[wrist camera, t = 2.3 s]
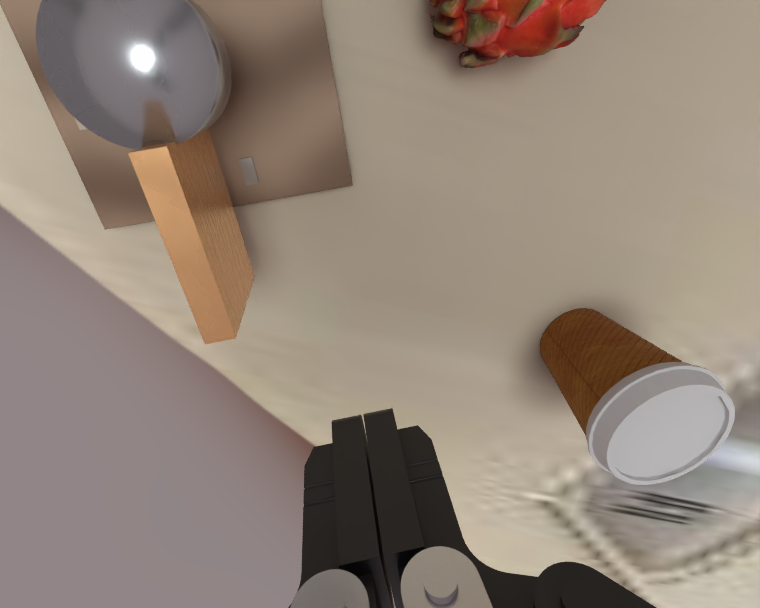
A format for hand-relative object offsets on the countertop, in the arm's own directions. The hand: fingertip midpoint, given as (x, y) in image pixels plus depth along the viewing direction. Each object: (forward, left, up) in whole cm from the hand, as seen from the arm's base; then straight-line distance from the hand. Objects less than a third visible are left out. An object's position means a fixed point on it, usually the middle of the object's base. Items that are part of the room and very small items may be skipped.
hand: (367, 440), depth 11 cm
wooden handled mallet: (-5, -6, -18) cm, 20 cm away
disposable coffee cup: (+15, +19, -23) cm, 33 cm away
